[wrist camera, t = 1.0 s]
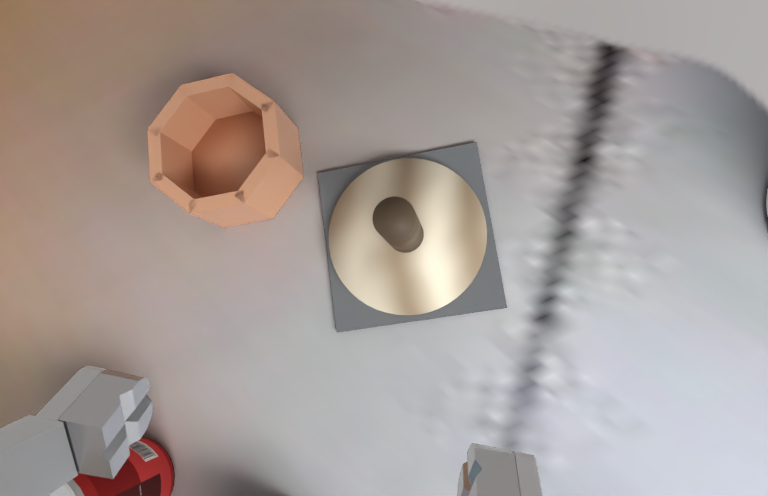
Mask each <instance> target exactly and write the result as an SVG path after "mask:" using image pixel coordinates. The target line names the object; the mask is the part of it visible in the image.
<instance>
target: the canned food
mask: <svg viewBox="0 0 768 496" xmlns="http://www.w3.org/2000/svg"><path fill="white" fill-rule="evenodd" d="M129 451H130V455H129V457H128V458H127V460H126V461H125V463H124V464H123V466H122V467H121V469H120V470H119V471H118V473H117V474H116V476H115V477H114V479H109V478H104V477H98V476H92V475H87V474H81V473H78V476H76V477H75V478H73V479H72V480H70V481H69V482H67V483H66V484H64V485H63V486H61V487H60V488H59V489H57V490H56V491H54V492H53V493H51V494H50V495H48V496H170V495H171V493H172V490H173V485H174V470H173V465H172V462H171V459H170V457H169V456H168V454H167V452H166V451H165V450H164V449H163V448H162V446H160V445H159V444H158V443H156V442H155V441H153V440H150V439H147V438H143V437H141V439H140V440H138V441H136V442H134V443H133V444H131V445H129Z"/></svg>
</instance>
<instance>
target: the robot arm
mask: <svg viewBox="0 0 768 496" xmlns="http://www.w3.org/2000/svg"><path fill="white" fill-rule="evenodd" d="M766 207H767V215H768V190H767V198H766ZM149 389H150V385H149V380H148V379H147V378H143V377H138V376H134V375H130V374H125V373H121V372H117V371H112V370H108V369H103V368H98V367H94V366H89V365H87V366H85V367H83V368H81V369H80V370H78V372H77V373H76V374H75V375H74V376H73V377H72V378H71V379H70V380H69V381H68V382H67V383H66V384H65V385H64V386H63V387H62V388H61V389H60V390H59V391H58V392H57V393H56V395H55V396H54V397H53V398H52V399H51V400H50V401H49V402H48V403H47V404H46V405H45V406H44V407H43V408H42V409H41V410H40V411H39V412H38V413H37V414H36V415H35V416H32V415H28V416H26V417H23V418H21V419H19V420H17V421H15V422H13V423H10V424H8V425H6V426H4V427H2V428H0V496H48V495H50V494H51V493H53V492H54V491H56V490H57V489H59V488H60V487H61V486H63V485H64V484H66V483H67V482H69V481H70V480H72V479H73V478H75V477H76V476H78V473H81V474H87V475H92V476H98V477H104V478H109V479H114V477H115V476H116V474H117V473H118V471H119V470H120V469H121V467H122V466H123V464H124V463H125V461H126V460H127V458H128V457H129V455H130V451H129V445H131V444H133V443H134V442H136V441H138V440H140V439H141V437H142V436H143V434H144V433H145V431H146V430H147V428H148V425H149V423H150V420H151V417H152V411H153V405H152V400H151V399H150V398H149V397H148V396H147V395H146V394H147V392H148V391H149ZM467 461H468V462H466V463H464V464H463V465H462V468H461V472H460V476H459V482H458V493H457V496H543V494H542V489H541V484H540V478H539V473H538V468H537V463H536V459H535V457H534V456H533V455H530V454H525V453H520V452H515V451H511V450H507V449H501V448H496V447H491V446H485V445H480V444H475V443H472V444H471V445H470V447H469V449H468V452H467Z"/></svg>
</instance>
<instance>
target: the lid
mask: <svg viewBox="0 0 768 496" xmlns="http://www.w3.org/2000/svg"><path fill="white" fill-rule="evenodd" d="M328 239H329V250H330V256H331V260H332V263H333V266H334V268H335V270H336V272H337V274H338V276H339V278H340V280H341V281H342V283H343V284H344V285H345V287H346V288H347V289H348V290H349V291H350V292H351V293H352V294H353V295H354V296H355V297H356V298H358V299H359V300H360V301H362V302H363V303H365V304H366V305H368V306H370V307H372V308H374V309H376V310H379V311H382V312H385V313H390V314H396V315H419V314H424V313H428V312H431V311H434V310H437V309H439V308H441V307H443V306H445V305H447V304H449V303H450V302H452V301H453V300H455V299H456V298H457V297H459V296H460V295H461V294H462V293H463V292H464V291H465V290H466V289H467V288H468V286H469V285H470V284H471V283H472V281H473V280H474V278H475V276H476V275H477V273H478V271H479V269H480V267H481V264H482V261H483V258H484V255H485V250H486V244H487V226H486V219H485V216H484V212H483V209H482V206H481V204H480V201H479V200H478V198H477V196H476V194H475V193H474V191H473V190H472V189H471V187H470V186H469V185H468V184H467V183H466V182H465V181H464V180H463V179H462V178H461V177H460V176H459V175H458V174H456V173H455V172H454V171H452V170H450V169H449V168H447V167H445V166H443V165H441V164H438V163H436V162H432V161H429V160H425V159H417V158H402V159H394V160H390V161H387V162H383V163H381V164H378V165H376V166H374V167H372V168H370V169H368V170H367V171H365V172H364V173H362V174H361V175H360V176H358V177H357V178H356V179H355V180H354V181H353V182H352V183H351V184H350V185H349V186H348V187H347V188H346V190H345V191H344V192H343V194H342V195H341V197H340V198H339V200H338V202H337V204H336V206H335V208H334V211H333V214H332V217H331V221H330V226H329V237H328Z"/></svg>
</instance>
